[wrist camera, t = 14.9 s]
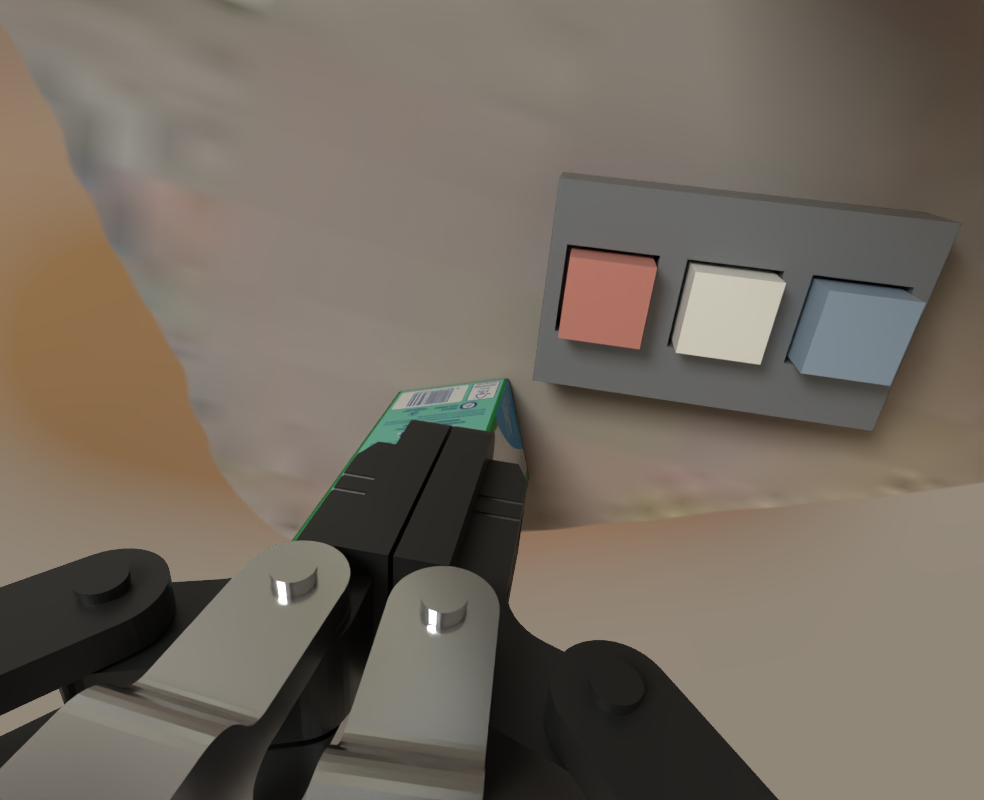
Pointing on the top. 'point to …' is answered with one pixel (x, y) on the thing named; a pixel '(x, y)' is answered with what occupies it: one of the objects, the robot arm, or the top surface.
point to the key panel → (736, 242)
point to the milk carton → (452, 419)
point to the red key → (607, 297)
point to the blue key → (853, 330)
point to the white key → (726, 311)
